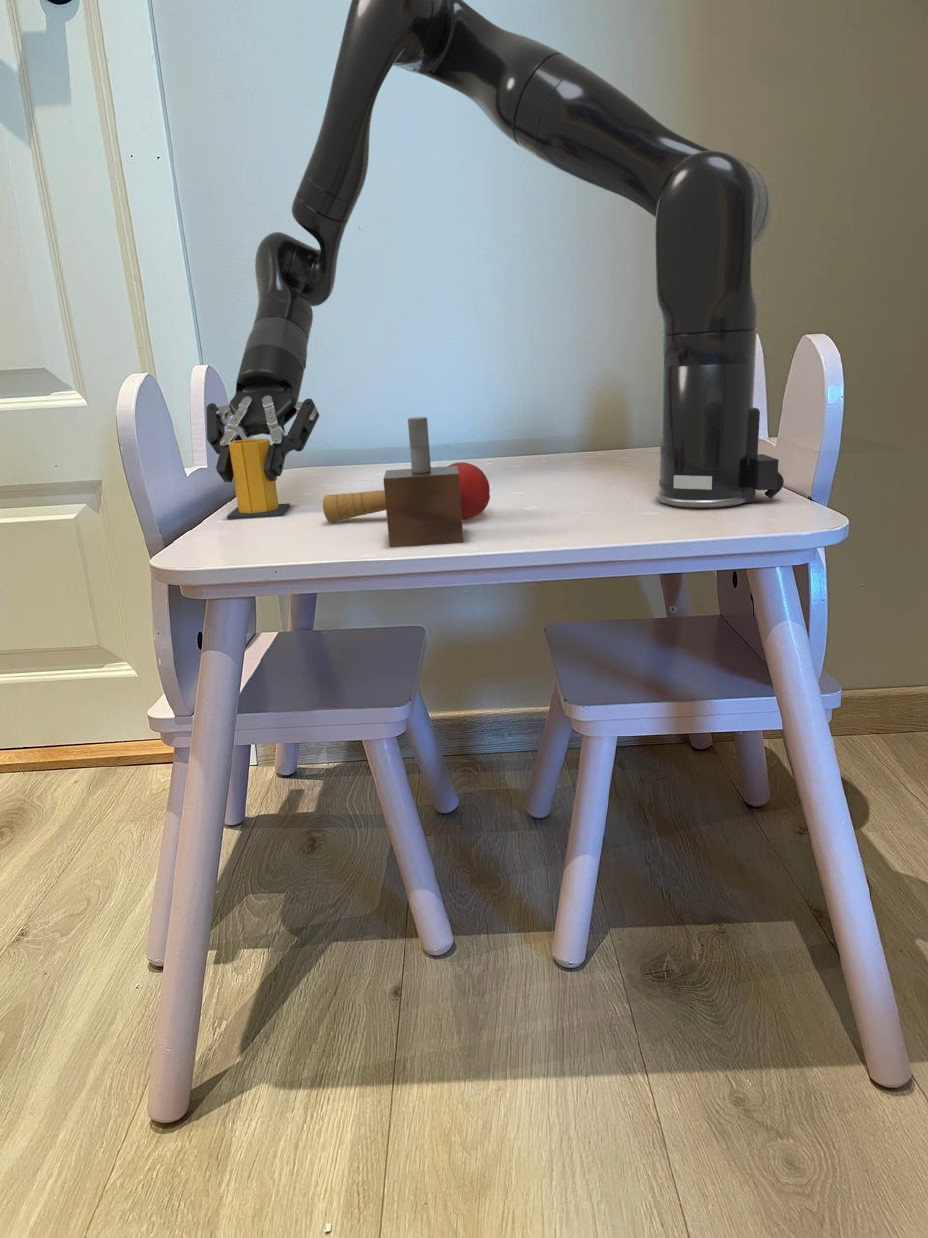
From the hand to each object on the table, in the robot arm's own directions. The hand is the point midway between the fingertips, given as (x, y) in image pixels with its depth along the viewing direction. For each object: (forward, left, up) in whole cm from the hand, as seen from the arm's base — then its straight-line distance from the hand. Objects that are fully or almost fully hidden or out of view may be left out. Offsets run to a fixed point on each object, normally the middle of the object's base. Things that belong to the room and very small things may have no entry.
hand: (247, 477), depth 95 cm
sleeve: (0, -2, -4) cm, 4 cm away
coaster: (0, -2, -5) cm, 5 cm away
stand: (-20, +18, -5) cm, 27 cm away
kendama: (-18, +9, -5) cm, 21 cm away
